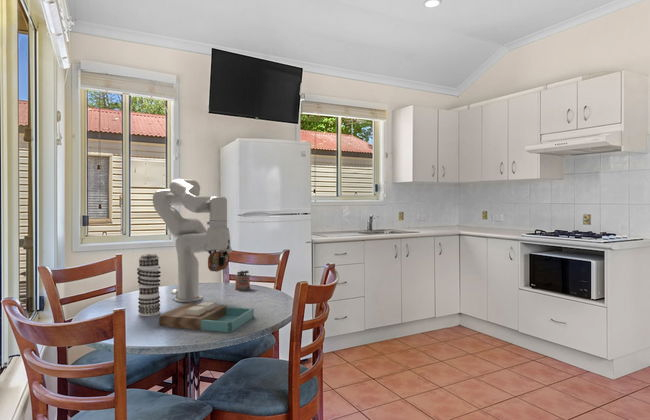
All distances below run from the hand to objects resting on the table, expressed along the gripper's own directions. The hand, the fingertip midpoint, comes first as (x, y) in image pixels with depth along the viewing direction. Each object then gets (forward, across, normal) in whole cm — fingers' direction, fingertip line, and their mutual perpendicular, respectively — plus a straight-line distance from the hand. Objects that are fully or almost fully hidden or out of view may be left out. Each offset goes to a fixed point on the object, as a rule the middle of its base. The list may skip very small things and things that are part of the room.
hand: (218, 265), depth 182 cm
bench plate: (+19, 0, -20) cm, 27 cm away
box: (+19, +15, -20) cm, 31 cm away
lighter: (+19, -6, +38) cm, 43 cm away
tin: (+2, 0, 0) cm, 2 cm away
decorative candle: (+19, -24, -15) cm, 34 cm away
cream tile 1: (+15, +3, -23) cm, 28 cm away
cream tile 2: (+15, +3, -16) cm, 22 cm away
